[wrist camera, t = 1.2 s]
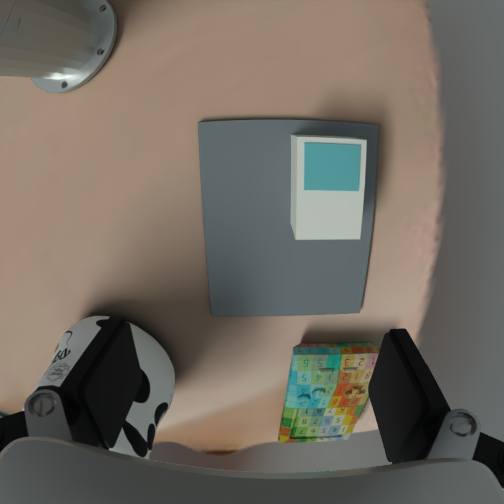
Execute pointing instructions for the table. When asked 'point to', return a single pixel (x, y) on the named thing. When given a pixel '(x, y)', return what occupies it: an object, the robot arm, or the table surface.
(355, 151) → the card box
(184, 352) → the table surface
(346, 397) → the puzzle game
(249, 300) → the mat
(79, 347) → the milk container
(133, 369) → the robot arm
